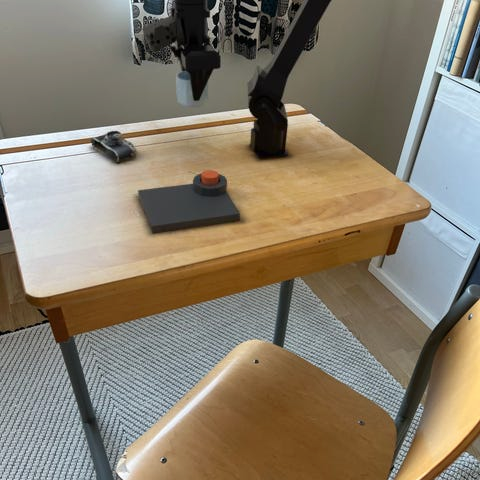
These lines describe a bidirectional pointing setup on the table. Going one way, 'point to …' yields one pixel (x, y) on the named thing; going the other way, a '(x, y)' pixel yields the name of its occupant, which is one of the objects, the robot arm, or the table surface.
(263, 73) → the robot arm
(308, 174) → the table surface
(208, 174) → the button
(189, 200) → the grey base plate
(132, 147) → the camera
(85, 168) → the table surface
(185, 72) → the cup
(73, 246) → the table surface
